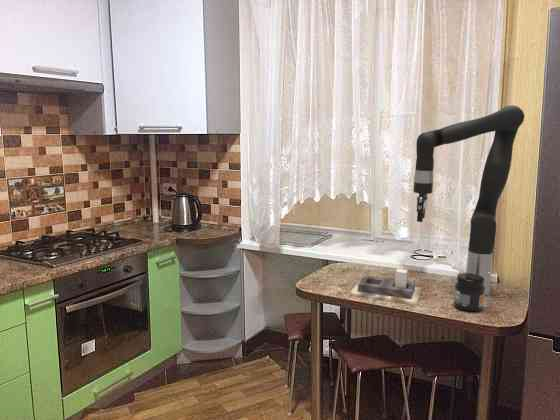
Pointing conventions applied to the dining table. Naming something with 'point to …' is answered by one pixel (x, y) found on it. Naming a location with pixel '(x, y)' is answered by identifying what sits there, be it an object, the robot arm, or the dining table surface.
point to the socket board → (387, 298)
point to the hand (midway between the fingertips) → (420, 219)
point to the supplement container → (469, 292)
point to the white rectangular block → (401, 278)
